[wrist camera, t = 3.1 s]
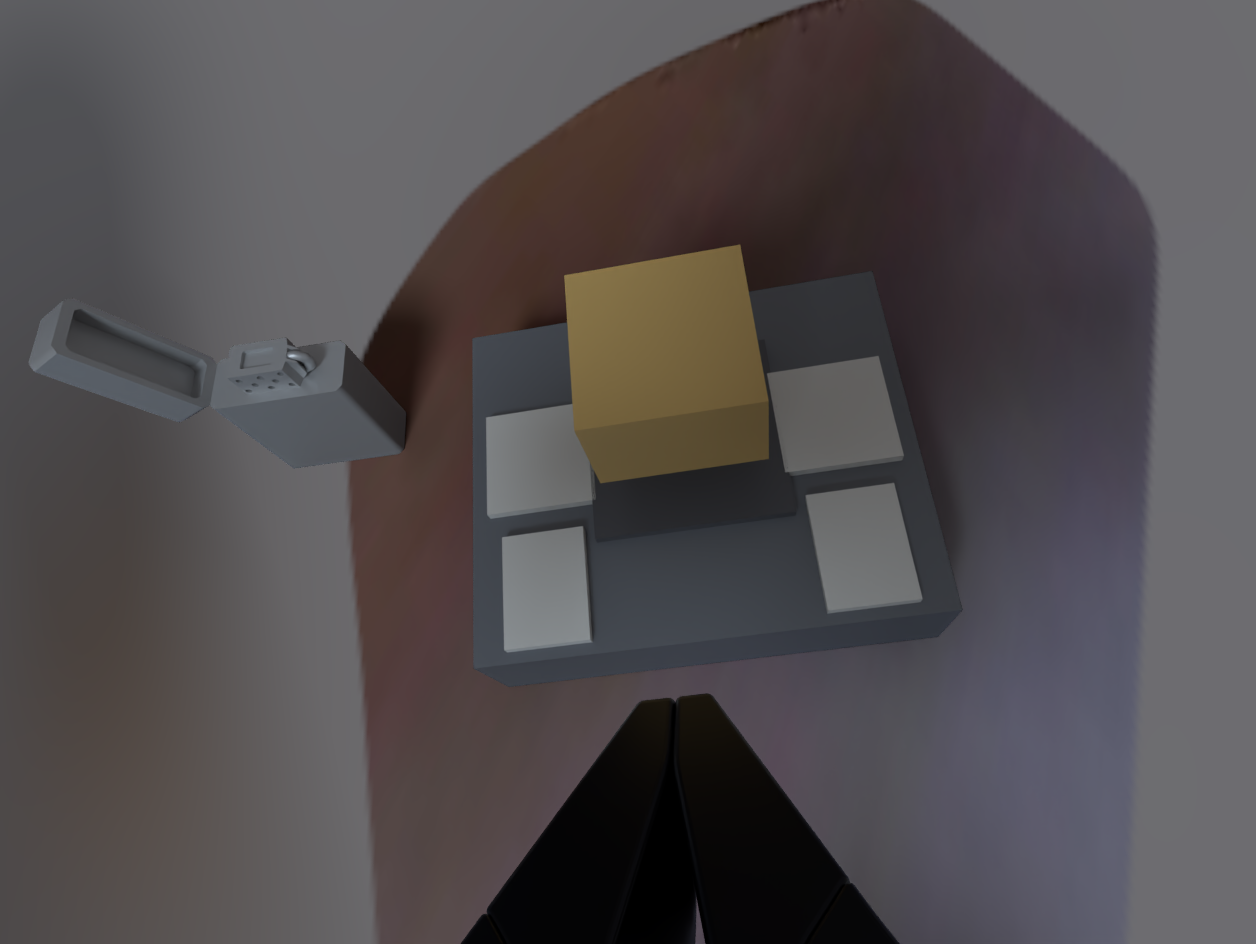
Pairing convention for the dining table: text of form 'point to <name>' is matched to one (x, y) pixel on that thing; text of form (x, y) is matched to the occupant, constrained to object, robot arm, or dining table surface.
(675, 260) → the key
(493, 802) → the dining table surface
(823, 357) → the keypad
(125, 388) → the lighter
